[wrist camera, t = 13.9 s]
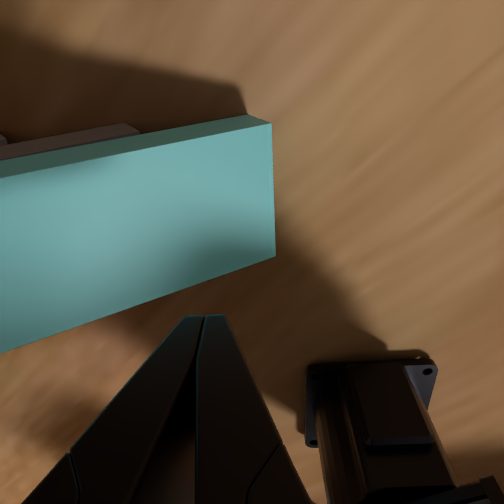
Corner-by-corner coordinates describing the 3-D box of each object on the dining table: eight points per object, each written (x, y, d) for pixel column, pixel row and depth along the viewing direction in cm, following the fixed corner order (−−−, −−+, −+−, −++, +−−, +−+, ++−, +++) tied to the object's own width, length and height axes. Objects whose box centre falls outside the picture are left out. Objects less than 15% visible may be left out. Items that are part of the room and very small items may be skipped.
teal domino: (275, 256, 15) (-22, 361, 11) (255, 238, 16) (-20, 328, 13) (271, 123, 13) (-118, 202, 9) (247, 114, 14) (-103, 179, 10)
